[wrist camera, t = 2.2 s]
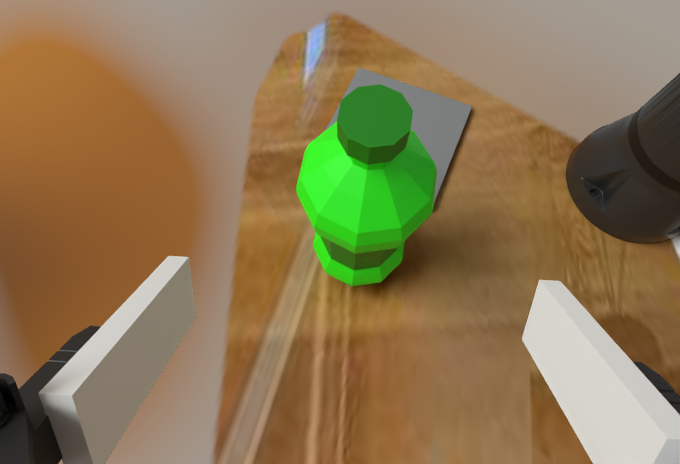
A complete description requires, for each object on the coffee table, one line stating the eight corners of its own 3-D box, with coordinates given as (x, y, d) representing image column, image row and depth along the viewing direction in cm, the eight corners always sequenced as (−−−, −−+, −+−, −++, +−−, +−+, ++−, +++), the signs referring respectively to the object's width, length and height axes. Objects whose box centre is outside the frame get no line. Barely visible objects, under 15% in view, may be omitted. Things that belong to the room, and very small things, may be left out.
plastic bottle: (306, 288, 44) (265, 184, 20) (324, 203, 47) (306, 32, 24) (395, 303, 43) (458, 215, 20) (406, 216, 47) (471, 54, 23)
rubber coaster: (470, 109, 52) (472, 106, 51) (430, 211, 47) (431, 209, 46) (358, 71, 54) (358, 67, 54) (309, 164, 49) (308, 161, 49)
